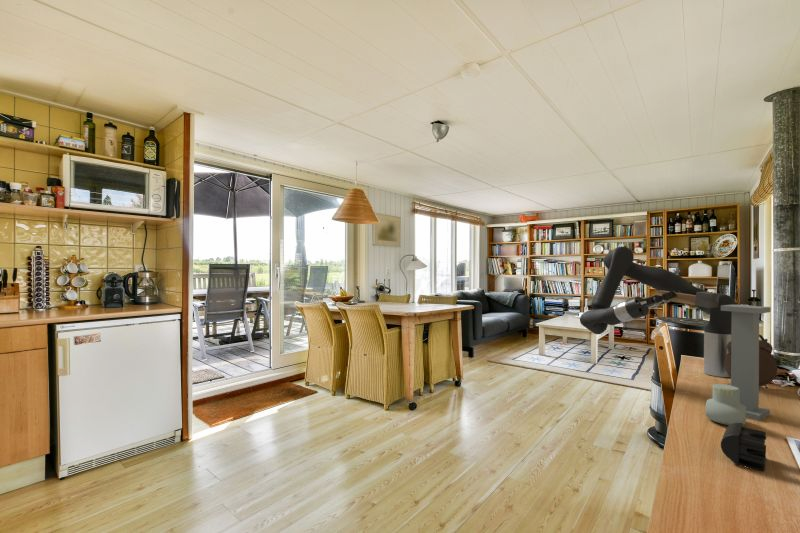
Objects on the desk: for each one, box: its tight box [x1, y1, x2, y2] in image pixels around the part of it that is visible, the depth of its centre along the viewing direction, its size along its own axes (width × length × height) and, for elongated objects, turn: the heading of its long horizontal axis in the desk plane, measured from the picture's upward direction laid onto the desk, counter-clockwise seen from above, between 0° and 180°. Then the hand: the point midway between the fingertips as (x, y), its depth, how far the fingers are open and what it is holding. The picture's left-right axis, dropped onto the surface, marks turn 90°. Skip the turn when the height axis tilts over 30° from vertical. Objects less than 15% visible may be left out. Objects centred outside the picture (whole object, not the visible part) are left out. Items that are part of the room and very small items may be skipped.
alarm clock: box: [725, 333, 778, 389], centre depth 142 cm, size 15×7×20 cm, turn 84°
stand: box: [721, 304, 772, 422], centre depth 116 cm, size 9×9×32 cm
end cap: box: [720, 423, 767, 473], centre depth 87 cm, size 10×7×7 cm
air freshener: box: [705, 383, 747, 426], centre depth 108 cm, size 11×8×10 cm
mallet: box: [655, 290, 721, 308], centre depth 130 cm, size 6×16×4 cm, turn 31°
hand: (677, 293), depth 132 cm, fingers closed on mallet, 3 cm apart
